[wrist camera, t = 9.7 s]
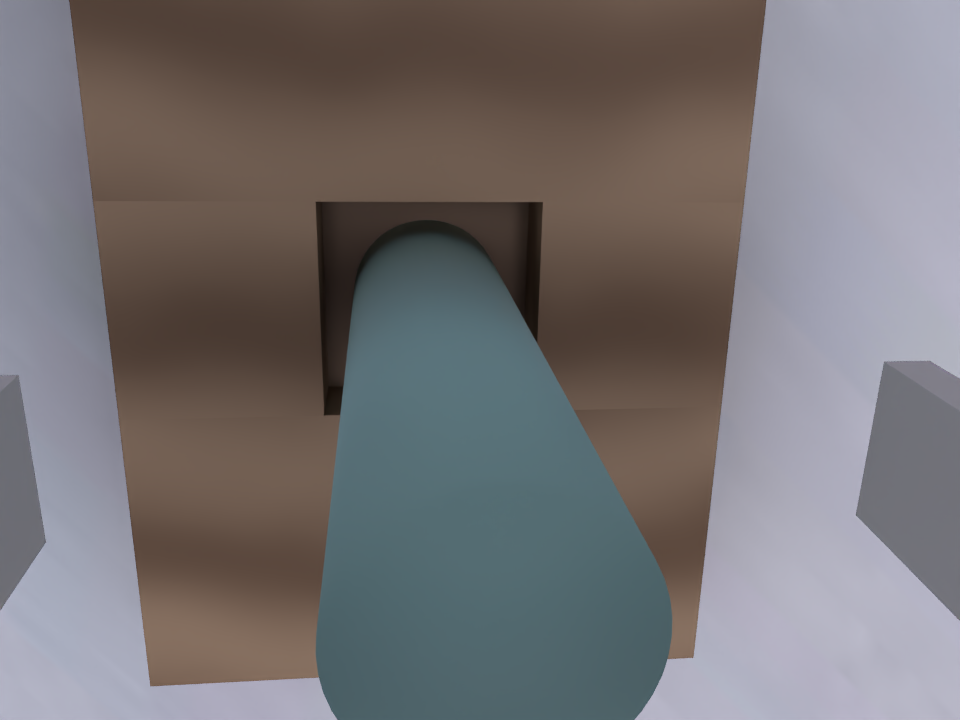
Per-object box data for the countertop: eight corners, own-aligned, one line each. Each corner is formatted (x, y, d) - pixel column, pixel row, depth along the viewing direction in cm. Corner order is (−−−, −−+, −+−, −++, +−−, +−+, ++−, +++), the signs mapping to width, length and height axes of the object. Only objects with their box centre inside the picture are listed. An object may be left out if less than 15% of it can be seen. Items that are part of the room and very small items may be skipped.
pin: (352, 219, 24) (307, 489, 9) (499, 220, 25) (688, 477, 10) (356, 360, 26) (322, 798, 10) (495, 358, 26) (656, 776, 11)
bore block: (89, -162, 21) (46, -195, 19) (734, -134, 23) (783, -161, 20) (173, 623, 28) (150, 686, 26) (663, 601, 30) (693, 657, 27)
